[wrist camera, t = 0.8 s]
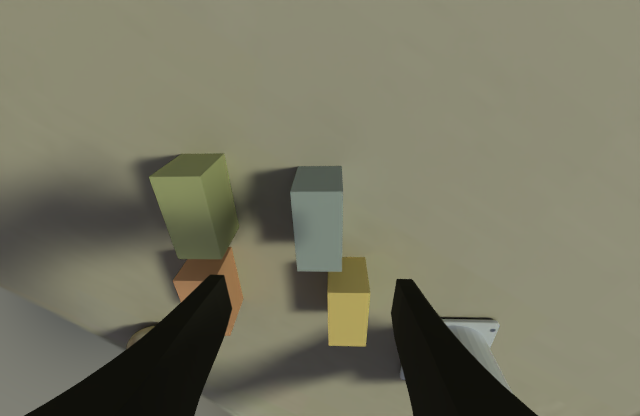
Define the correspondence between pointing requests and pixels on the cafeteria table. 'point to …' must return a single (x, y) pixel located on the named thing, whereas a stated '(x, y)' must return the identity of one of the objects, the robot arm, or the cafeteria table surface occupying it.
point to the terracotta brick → (201, 269)
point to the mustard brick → (348, 303)
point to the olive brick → (197, 205)
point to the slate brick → (318, 218)
